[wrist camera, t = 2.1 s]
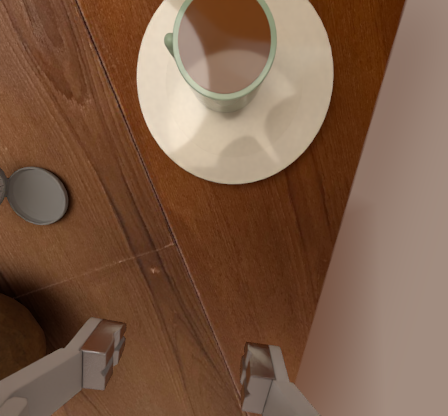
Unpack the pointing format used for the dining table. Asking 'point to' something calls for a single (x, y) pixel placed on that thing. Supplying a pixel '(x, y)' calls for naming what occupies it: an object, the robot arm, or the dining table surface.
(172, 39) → the teacup
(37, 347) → the bowl
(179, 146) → the plate
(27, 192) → the pocket watch
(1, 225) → the dining table surface
